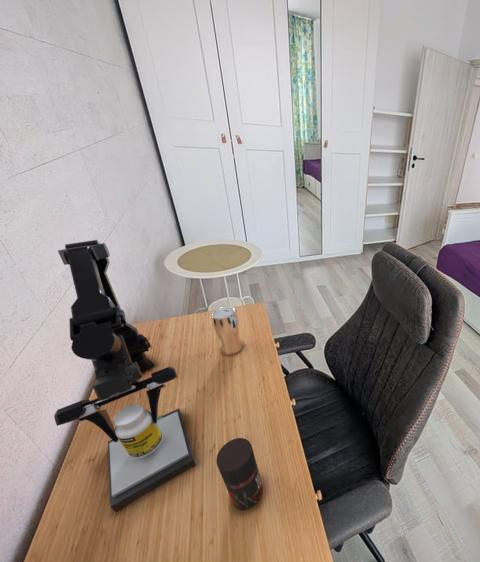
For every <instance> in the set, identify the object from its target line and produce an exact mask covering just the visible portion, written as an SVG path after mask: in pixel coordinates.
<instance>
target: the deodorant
mask: <svg viewBox="0 0 480 562" xmlns="http://www.w3.org/2000/svg"><path fill="white" fill-rule="evenodd" d="M215 461H216V466H217V468H218V471H219V474H220V475H221V478H222V481H223V484H224V485H225V488H226V490H227V492H228V494H229V497H230V500H231V502H232V504H233V506H234V508H235V509H236V510H239V511H247V510H250V509H251V508H253V507H254V506H255V505H256V504H258V502H259V501H260V500H261V497H262V496H263V492H264V486H263V481H262V478H261V475H260V470H259V467H258V464H257V460H256V456H255V453H254V449H253V446H252V443H251V441H249V439H247V438H244V437H238V438H233V439H231V440H229V441H228V442H226V443H225V444H224V445H223V446H221V448H220V449H219V451H218V452H217V455H216V459H215Z"/></svg>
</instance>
